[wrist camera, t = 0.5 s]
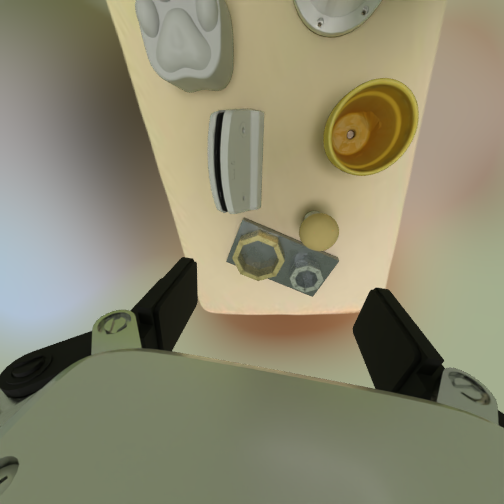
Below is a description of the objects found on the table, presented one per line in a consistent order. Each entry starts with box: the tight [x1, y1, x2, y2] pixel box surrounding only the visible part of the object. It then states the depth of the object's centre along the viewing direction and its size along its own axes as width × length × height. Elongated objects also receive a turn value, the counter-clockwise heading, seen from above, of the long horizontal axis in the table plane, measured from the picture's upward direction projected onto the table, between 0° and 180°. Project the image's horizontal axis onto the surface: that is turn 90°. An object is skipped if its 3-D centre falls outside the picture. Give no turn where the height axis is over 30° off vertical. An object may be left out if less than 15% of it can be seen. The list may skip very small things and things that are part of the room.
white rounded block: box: [208, 109, 264, 214], centre depth 34 cm, size 17×5×10 cm, turn 179°
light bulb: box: [299, 211, 339, 251], centre depth 36 cm, size 6×6×10 cm
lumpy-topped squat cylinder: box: [135, 0, 234, 92], centre depth 26 cm, size 10×13×9 cm
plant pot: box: [323, 78, 418, 176], centre depth 29 cm, size 10×10×10 cm
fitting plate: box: [226, 218, 339, 297], centre depth 44 cm, size 11×22×4 cm, turn 68°
